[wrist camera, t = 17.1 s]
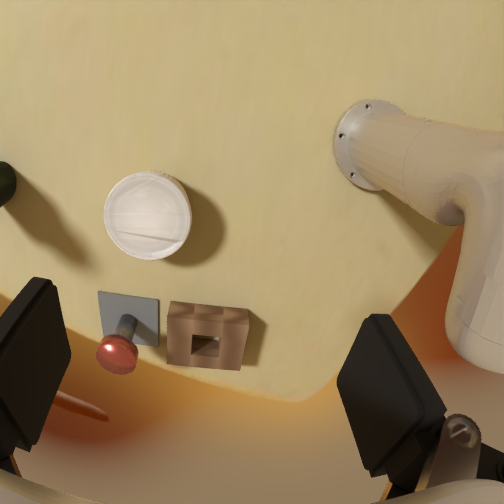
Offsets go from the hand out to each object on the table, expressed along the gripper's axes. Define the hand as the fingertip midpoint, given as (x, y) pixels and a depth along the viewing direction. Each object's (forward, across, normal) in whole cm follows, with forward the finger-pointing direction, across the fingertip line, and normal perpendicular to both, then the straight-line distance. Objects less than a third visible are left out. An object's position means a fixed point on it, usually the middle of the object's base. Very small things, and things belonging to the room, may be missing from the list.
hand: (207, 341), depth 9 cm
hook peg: (+33, +12, +28) cm, 45 cm away
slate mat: (+33, +12, +28) cm, 45 cm away
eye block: (+33, -1, +28) cm, 44 cm away
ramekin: (+34, +8, +8) cm, 35 cm away
